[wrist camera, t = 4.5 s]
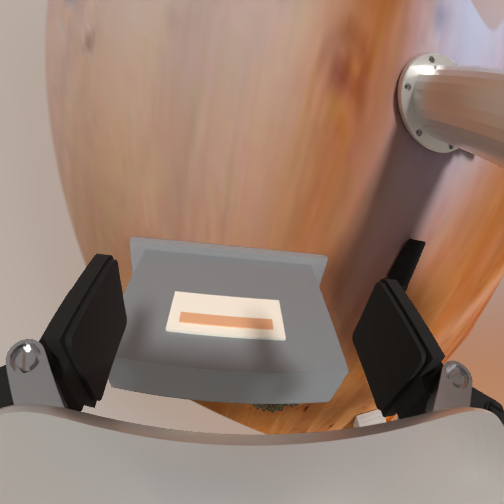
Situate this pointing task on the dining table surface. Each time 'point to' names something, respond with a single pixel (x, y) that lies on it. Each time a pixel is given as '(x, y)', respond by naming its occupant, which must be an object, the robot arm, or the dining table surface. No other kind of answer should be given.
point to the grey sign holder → (227, 325)
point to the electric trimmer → (407, 262)
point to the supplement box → (369, 419)
